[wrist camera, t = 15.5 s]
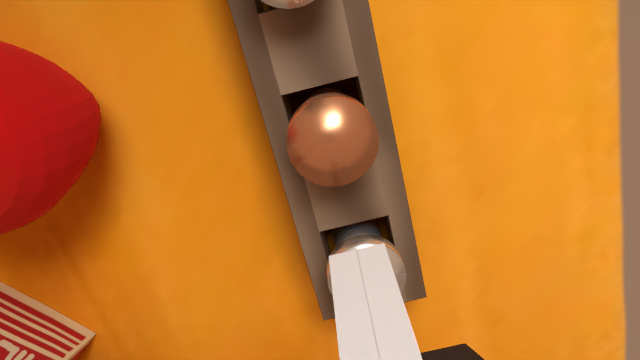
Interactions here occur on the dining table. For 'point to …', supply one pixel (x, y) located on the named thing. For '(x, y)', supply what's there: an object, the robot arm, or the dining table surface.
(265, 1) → the cream plug
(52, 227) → the dining table surface
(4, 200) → the tomato
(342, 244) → the cream plug
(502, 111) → the dining table surface
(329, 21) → the brown long block
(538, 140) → the dining table surface
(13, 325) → the milk carton
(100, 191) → the dining table surface
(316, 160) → the plug mid terracotta
